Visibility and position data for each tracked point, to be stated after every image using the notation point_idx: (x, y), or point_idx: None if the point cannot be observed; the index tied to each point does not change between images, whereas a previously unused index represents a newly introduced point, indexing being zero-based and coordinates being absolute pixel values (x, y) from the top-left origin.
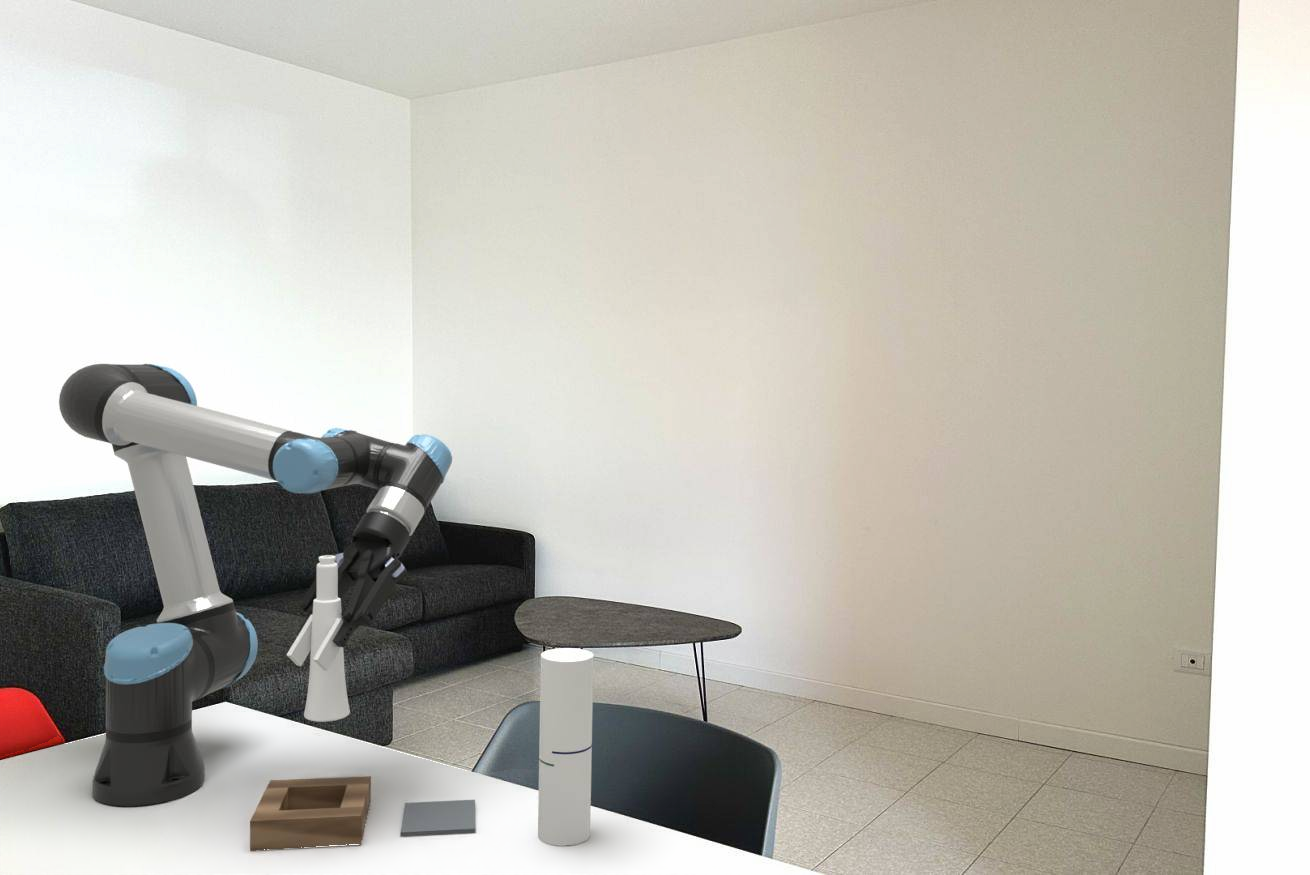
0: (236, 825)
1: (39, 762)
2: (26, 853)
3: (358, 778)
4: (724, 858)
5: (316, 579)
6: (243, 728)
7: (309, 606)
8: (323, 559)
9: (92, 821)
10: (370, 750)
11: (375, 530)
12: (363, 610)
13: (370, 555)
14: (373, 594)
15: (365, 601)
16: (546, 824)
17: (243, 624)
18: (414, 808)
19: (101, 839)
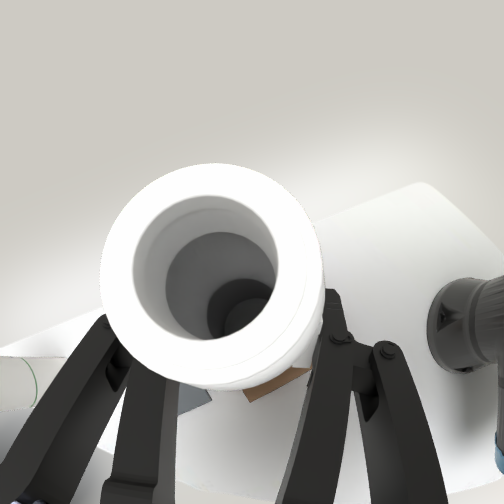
0: (341, 297)
1: None
2: (431, 194)
3: (259, 391)
4: None
5: (428, 456)
6: (472, 462)
7: (368, 364)
8: (193, 173)
9: (444, 252)
10: (335, 498)
11: None
12: (98, 328)
13: None
14: (61, 379)
15: (93, 359)
16: (59, 360)
17: None
18: (193, 391)
19: (413, 229)
